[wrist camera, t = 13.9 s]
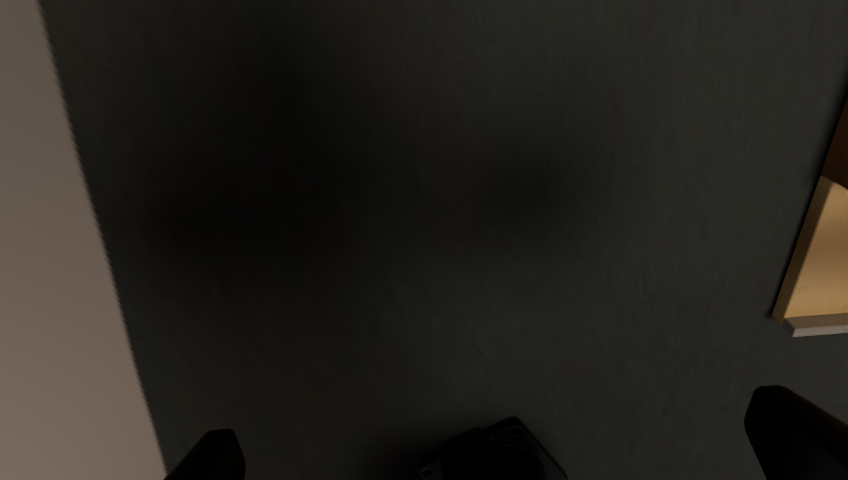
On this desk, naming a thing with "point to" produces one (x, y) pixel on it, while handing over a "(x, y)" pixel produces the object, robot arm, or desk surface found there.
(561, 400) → the desk surface
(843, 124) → the rack
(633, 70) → the desk surface
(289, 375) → the desk surface
